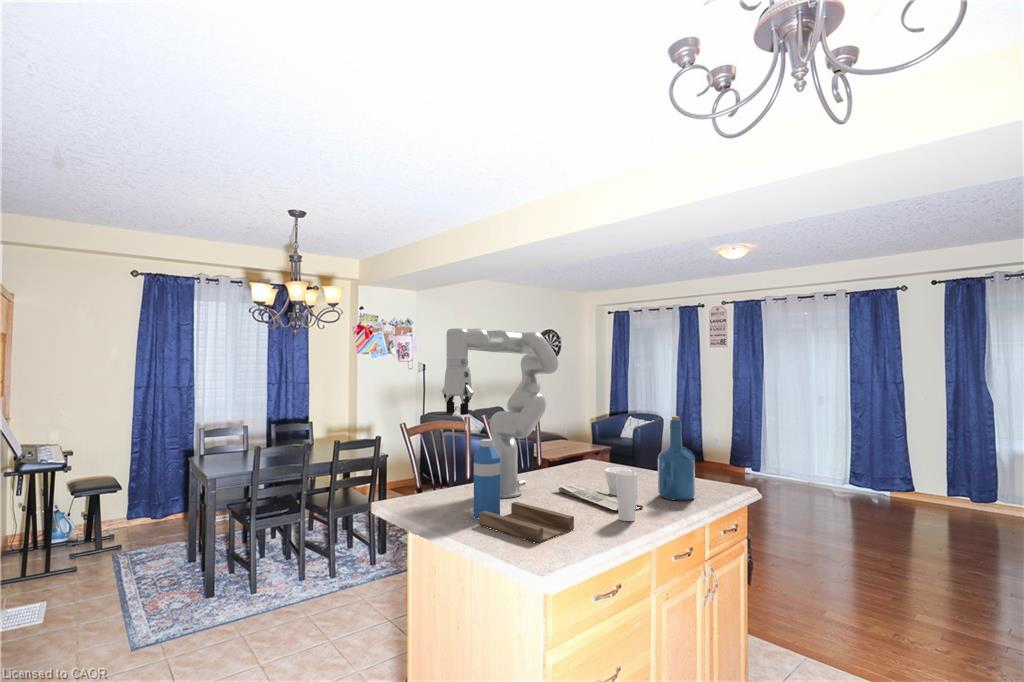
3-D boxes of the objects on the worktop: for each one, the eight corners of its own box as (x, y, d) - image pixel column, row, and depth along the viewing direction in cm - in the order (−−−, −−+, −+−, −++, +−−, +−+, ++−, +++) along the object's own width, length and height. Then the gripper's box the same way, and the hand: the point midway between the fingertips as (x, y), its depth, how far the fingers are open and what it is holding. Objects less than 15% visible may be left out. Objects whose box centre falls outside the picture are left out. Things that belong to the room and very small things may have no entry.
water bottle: (495, 521, 167) (494, 442, 168) (468, 518, 170) (468, 441, 171) (504, 513, 176) (504, 438, 177) (479, 510, 179) (479, 437, 180)
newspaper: (643, 510, 180) (643, 500, 180) (616, 516, 173) (616, 505, 174) (576, 489, 210) (576, 480, 210) (551, 493, 203) (551, 484, 203)
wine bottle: (651, 496, 196) (650, 416, 197) (670, 490, 205) (669, 413, 206) (684, 504, 186) (683, 419, 187) (703, 497, 195) (701, 416, 196)
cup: (603, 496, 196) (603, 472, 196) (606, 490, 206) (606, 466, 206) (630, 498, 193) (630, 473, 193) (632, 492, 203) (632, 468, 203)
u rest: (516, 513, 175) (516, 501, 175) (573, 529, 158) (573, 516, 159) (479, 525, 163) (479, 512, 163) (537, 544, 146) (537, 529, 146)
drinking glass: (629, 515, 173) (629, 469, 173) (642, 521, 166) (641, 474, 167) (612, 517, 170) (611, 471, 171) (623, 524, 164) (623, 475, 164)
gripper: (481, 363, 181) (481, 414, 181) (449, 363, 193) (449, 411, 193) (465, 363, 176) (465, 416, 175) (433, 363, 188) (433, 413, 187)
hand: (457, 413), depth 184 cm, fingers open, 6 cm apart
